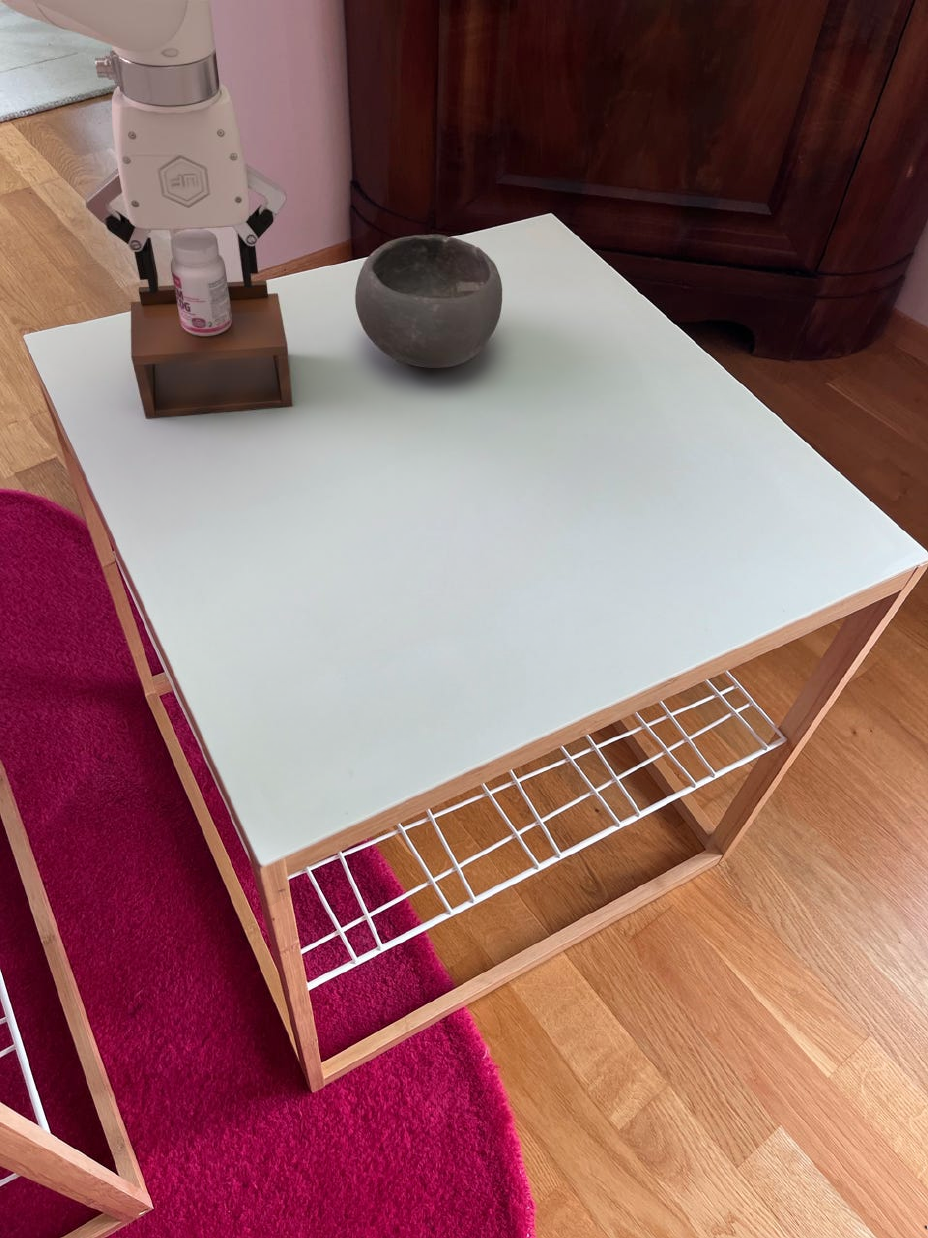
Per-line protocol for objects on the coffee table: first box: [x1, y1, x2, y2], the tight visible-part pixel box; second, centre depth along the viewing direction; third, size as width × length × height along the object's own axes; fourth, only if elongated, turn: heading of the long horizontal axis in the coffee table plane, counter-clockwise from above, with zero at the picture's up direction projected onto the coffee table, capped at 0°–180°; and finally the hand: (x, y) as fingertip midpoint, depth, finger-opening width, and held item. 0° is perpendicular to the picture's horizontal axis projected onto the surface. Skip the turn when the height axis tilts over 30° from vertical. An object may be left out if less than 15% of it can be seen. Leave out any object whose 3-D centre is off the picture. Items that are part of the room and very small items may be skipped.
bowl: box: [354, 234, 503, 369], centre depth 97 cm, size 15×15×10 cm
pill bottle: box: [170, 228, 232, 336], centre depth 86 cm, size 5×5×8 cm
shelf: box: [130, 279, 293, 419], centre depth 92 cm, size 14×9×8 cm, turn 103°
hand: (200, 281), depth 86 cm, fingers open, 7 cm apart
